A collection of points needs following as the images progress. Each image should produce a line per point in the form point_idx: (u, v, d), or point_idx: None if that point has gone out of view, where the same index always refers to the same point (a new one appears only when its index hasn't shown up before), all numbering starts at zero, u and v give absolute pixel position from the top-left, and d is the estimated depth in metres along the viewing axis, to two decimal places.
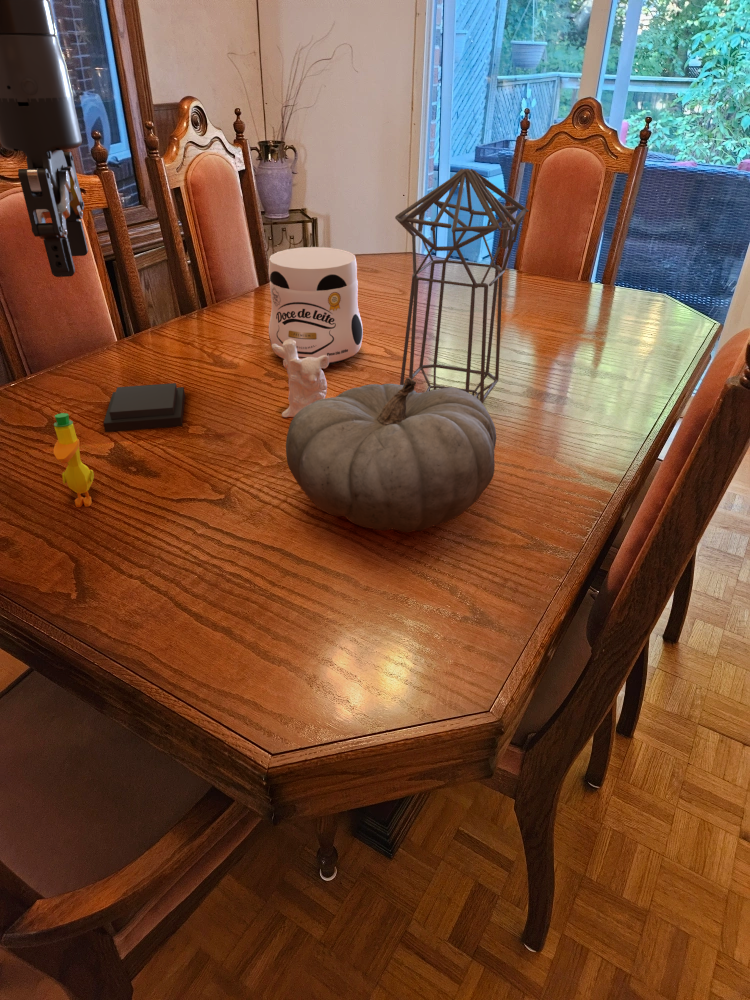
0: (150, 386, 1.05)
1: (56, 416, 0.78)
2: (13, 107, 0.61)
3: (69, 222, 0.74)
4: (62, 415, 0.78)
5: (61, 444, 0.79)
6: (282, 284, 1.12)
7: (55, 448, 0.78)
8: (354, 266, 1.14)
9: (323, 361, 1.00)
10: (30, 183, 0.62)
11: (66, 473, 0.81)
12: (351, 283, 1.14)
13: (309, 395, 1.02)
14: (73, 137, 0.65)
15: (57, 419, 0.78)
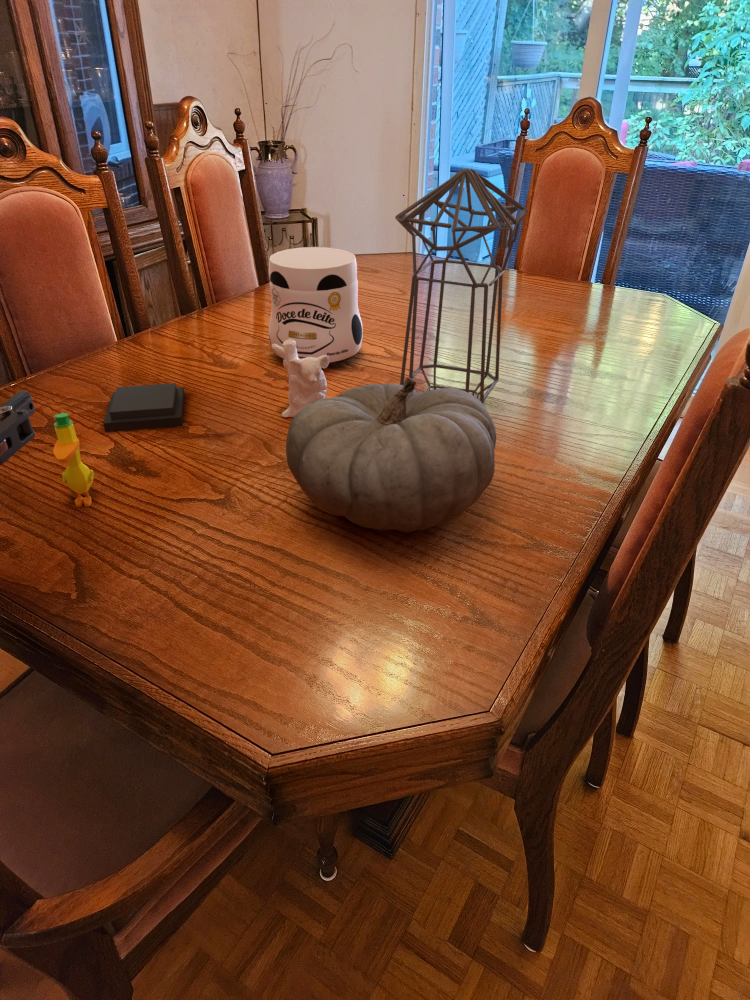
0: (150, 386, 1.05)
1: (56, 416, 0.78)
2: None
3: None
4: (62, 415, 0.78)
5: (61, 444, 0.79)
6: (282, 284, 1.12)
7: (55, 448, 0.78)
8: (354, 266, 1.14)
9: (323, 361, 1.00)
10: (4, 451, 0.56)
11: (66, 473, 0.81)
12: (351, 283, 1.14)
13: (309, 395, 1.02)
14: None
15: (57, 419, 0.78)
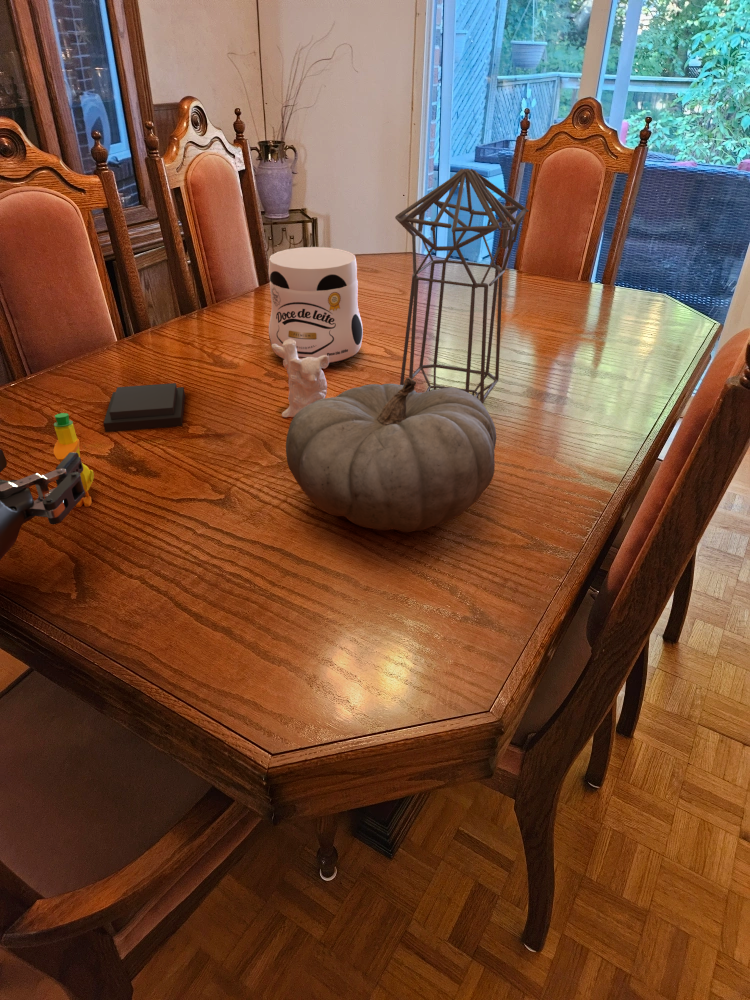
0: (150, 386, 1.05)
1: (56, 416, 0.78)
2: (0, 551, 0.61)
3: None
4: (62, 415, 0.78)
5: (61, 444, 0.79)
6: (282, 284, 1.12)
7: (55, 448, 0.78)
8: (354, 266, 1.14)
9: (323, 361, 1.00)
10: (62, 510, 0.66)
11: None
12: (351, 283, 1.14)
13: (309, 395, 1.02)
14: None
15: (57, 419, 0.78)
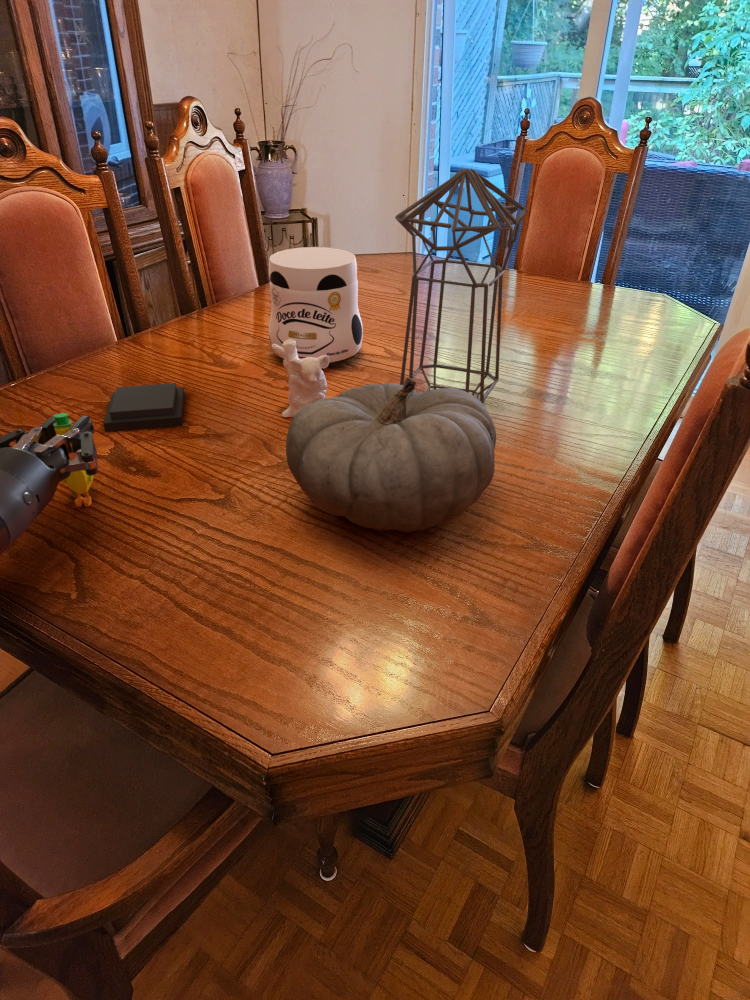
0: (150, 386, 1.05)
1: (55, 416, 0.78)
2: (40, 504, 0.68)
3: (48, 436, 0.78)
4: (61, 415, 0.78)
5: None
6: (282, 284, 1.12)
7: None
8: (354, 266, 1.14)
9: (323, 361, 1.00)
10: (95, 462, 0.74)
11: None
12: (351, 283, 1.14)
13: (309, 395, 1.02)
14: (23, 454, 0.68)
15: (56, 419, 0.78)
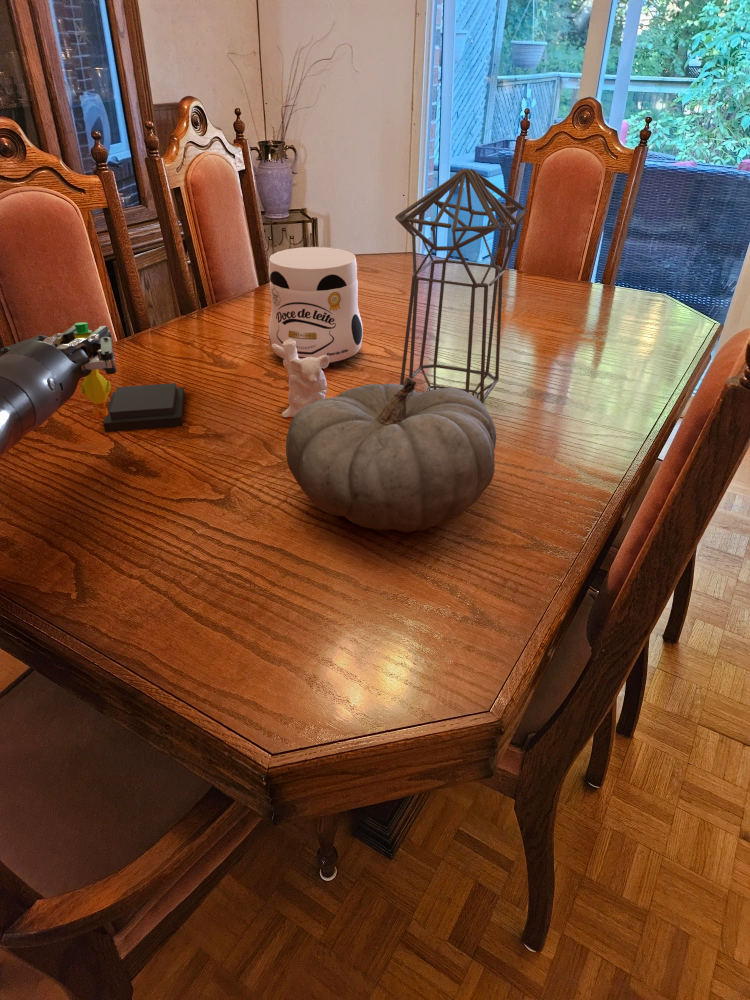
0: (150, 386, 1.05)
1: (76, 324, 0.81)
2: (63, 394, 0.71)
3: (69, 343, 0.82)
4: (81, 323, 0.82)
5: None
6: (282, 284, 1.12)
7: None
8: (354, 266, 1.14)
9: (323, 361, 1.00)
10: None
11: (85, 382, 0.85)
12: (351, 283, 1.14)
13: (309, 395, 1.02)
14: (47, 345, 0.71)
15: (77, 327, 0.81)
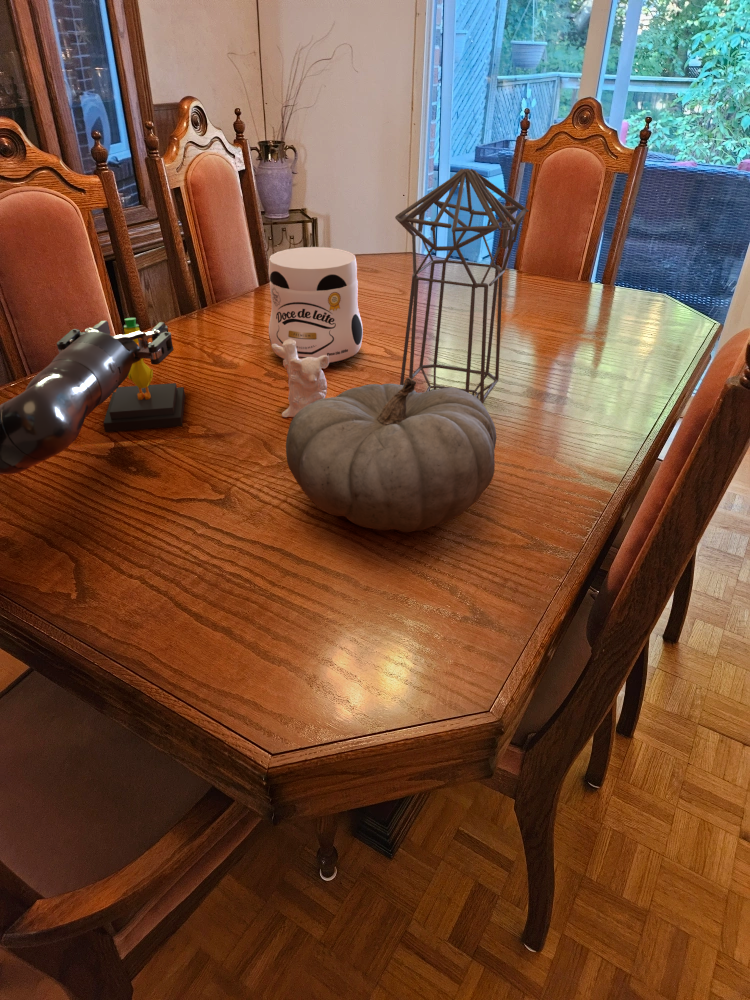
0: (150, 386, 1.05)
1: (126, 319, 0.95)
2: (121, 376, 0.85)
3: None
4: (130, 318, 0.95)
5: None
6: (282, 284, 1.12)
7: None
8: (354, 266, 1.14)
9: (323, 361, 1.00)
10: (160, 355, 0.90)
11: (131, 369, 0.99)
12: (351, 283, 1.14)
13: (309, 395, 1.02)
14: (107, 336, 0.85)
15: (127, 321, 0.95)
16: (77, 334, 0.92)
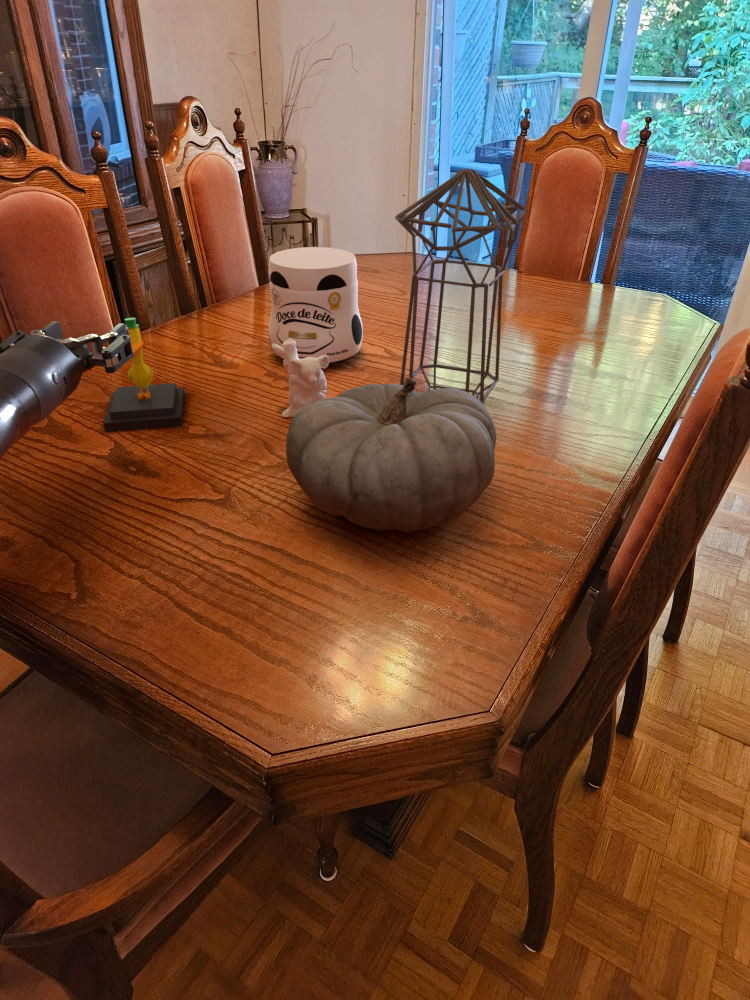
0: (150, 386, 1.05)
1: (126, 319, 0.95)
2: (67, 388, 0.72)
3: None
4: (130, 318, 0.95)
5: None
6: (282, 284, 1.12)
7: None
8: (354, 266, 1.14)
9: (323, 361, 1.00)
10: (116, 362, 0.77)
11: (131, 369, 0.99)
12: (351, 283, 1.14)
13: (309, 395, 1.02)
14: (51, 340, 0.72)
15: (127, 321, 0.95)
16: (21, 337, 0.79)
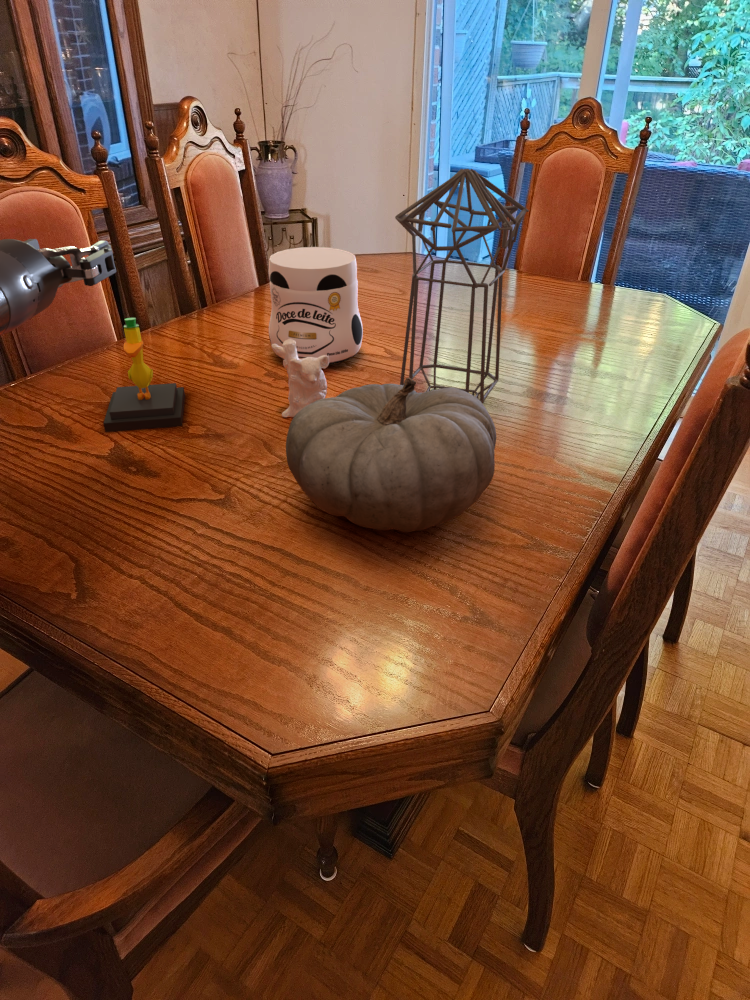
0: (150, 386, 1.05)
1: (126, 319, 0.95)
2: (41, 296, 0.66)
3: None
4: (130, 318, 0.95)
5: (129, 343, 0.96)
6: (282, 284, 1.12)
7: (124, 346, 0.96)
8: (354, 266, 1.14)
9: (323, 361, 1.00)
10: (96, 274, 0.71)
11: (131, 369, 0.99)
12: (351, 283, 1.14)
13: (309, 395, 1.02)
14: (23, 244, 0.66)
15: (127, 321, 0.95)
16: None
